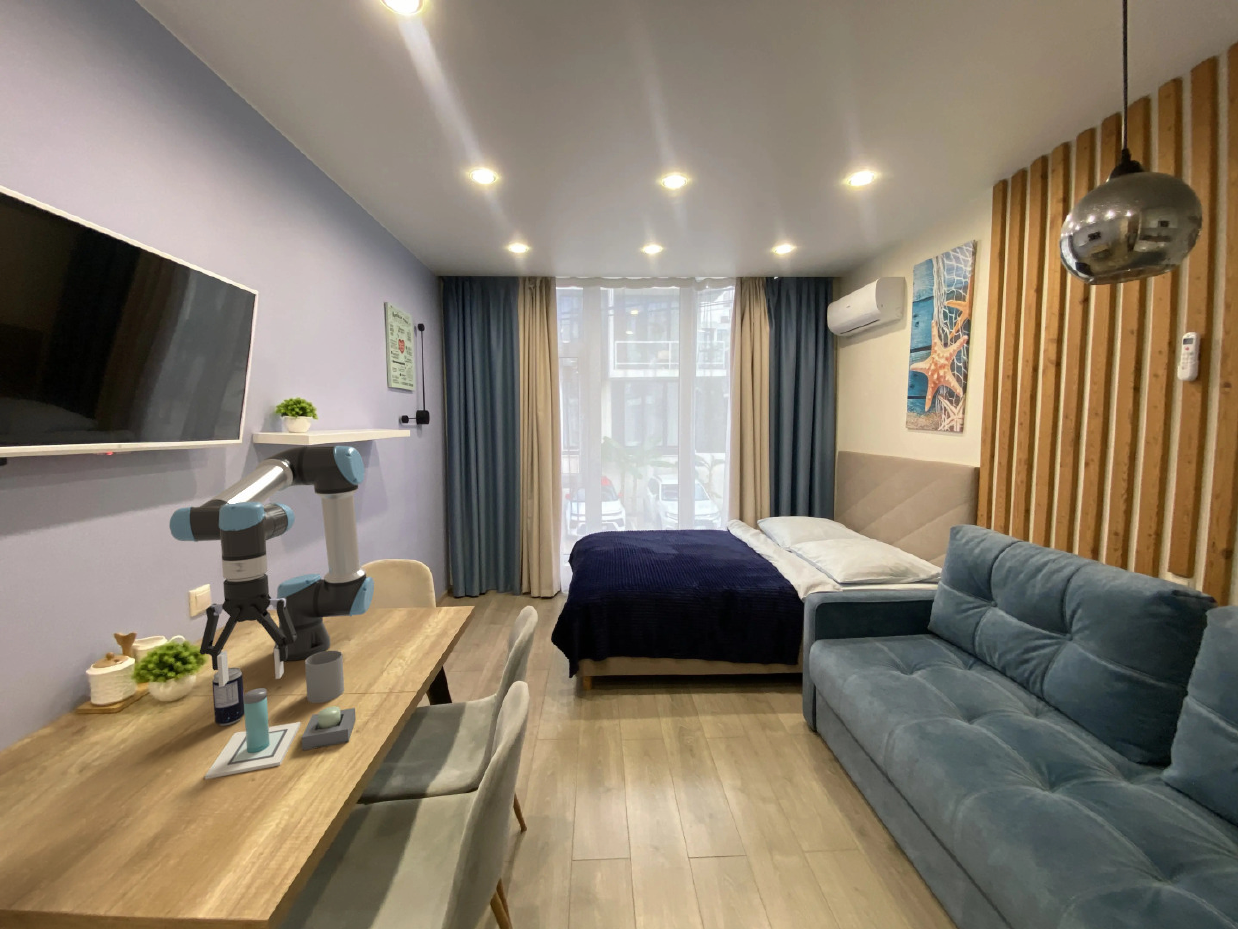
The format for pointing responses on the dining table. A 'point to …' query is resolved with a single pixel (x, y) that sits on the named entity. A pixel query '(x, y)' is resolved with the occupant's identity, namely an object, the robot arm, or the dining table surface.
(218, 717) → the beverage can
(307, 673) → the cup
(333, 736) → the button housing
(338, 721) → the button
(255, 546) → the robot arm
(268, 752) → the picture board
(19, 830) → the dining table surface
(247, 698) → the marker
